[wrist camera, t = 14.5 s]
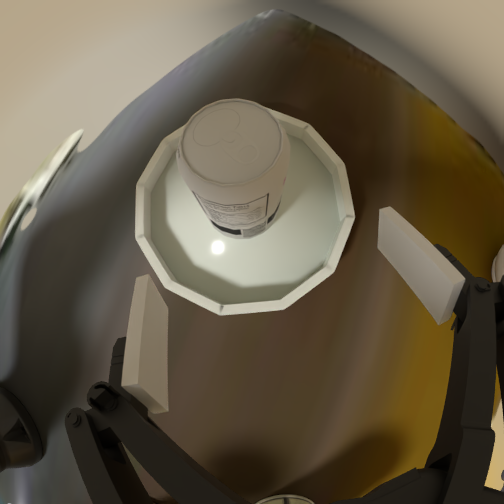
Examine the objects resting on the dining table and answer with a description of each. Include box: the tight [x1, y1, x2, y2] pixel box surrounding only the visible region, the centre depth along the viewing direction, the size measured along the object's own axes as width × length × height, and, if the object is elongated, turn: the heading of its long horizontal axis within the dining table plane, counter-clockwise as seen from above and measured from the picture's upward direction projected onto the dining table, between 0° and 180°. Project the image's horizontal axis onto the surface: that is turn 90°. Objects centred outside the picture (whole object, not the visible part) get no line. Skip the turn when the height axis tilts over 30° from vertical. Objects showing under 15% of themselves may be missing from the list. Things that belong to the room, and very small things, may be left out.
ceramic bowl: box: [135, 107, 355, 315], centre depth 32 cm, size 24×24×4 cm
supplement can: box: [176, 98, 291, 240], centre depth 26 cm, size 8×8×15 cm
